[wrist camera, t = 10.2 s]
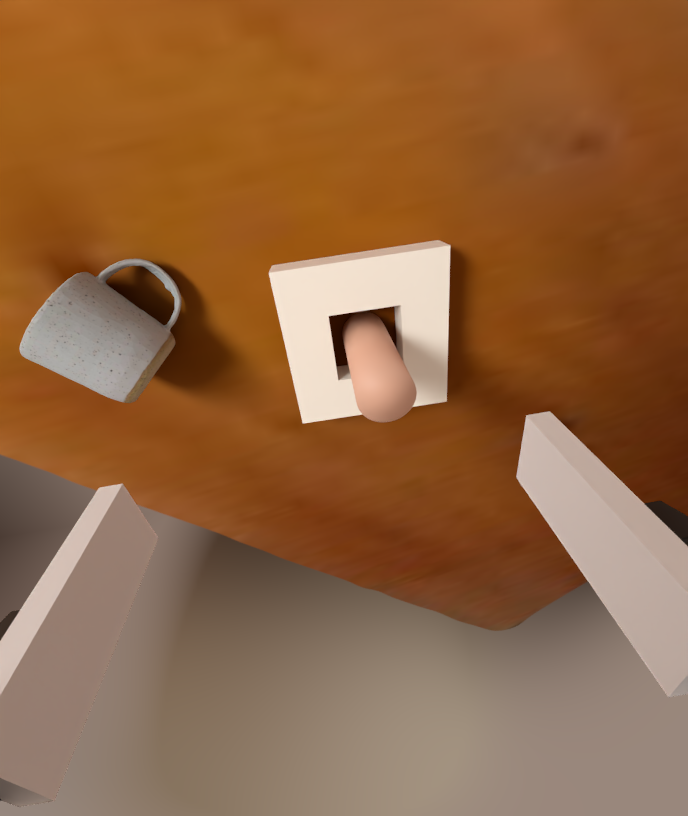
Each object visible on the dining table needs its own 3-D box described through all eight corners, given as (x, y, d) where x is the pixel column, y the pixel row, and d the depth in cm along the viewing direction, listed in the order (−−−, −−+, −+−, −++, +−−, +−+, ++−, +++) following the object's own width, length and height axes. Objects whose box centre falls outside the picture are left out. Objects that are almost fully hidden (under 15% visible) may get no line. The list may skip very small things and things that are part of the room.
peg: (339, 315, 33) (352, 374, 23) (383, 308, 33) (415, 364, 23) (345, 355, 35) (359, 426, 25) (386, 349, 35) (417, 417, 25)
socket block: (272, 265, 31) (268, 272, 28) (438, 240, 31) (450, 245, 28) (303, 407, 38) (302, 423, 35) (437, 386, 38) (446, 401, 35)
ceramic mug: (151, 383, 35) (117, 428, 29) (61, 332, 32) (-1, 368, 26) (210, 297, 32) (185, 325, 25) (115, 229, 29) (58, 241, 22)
